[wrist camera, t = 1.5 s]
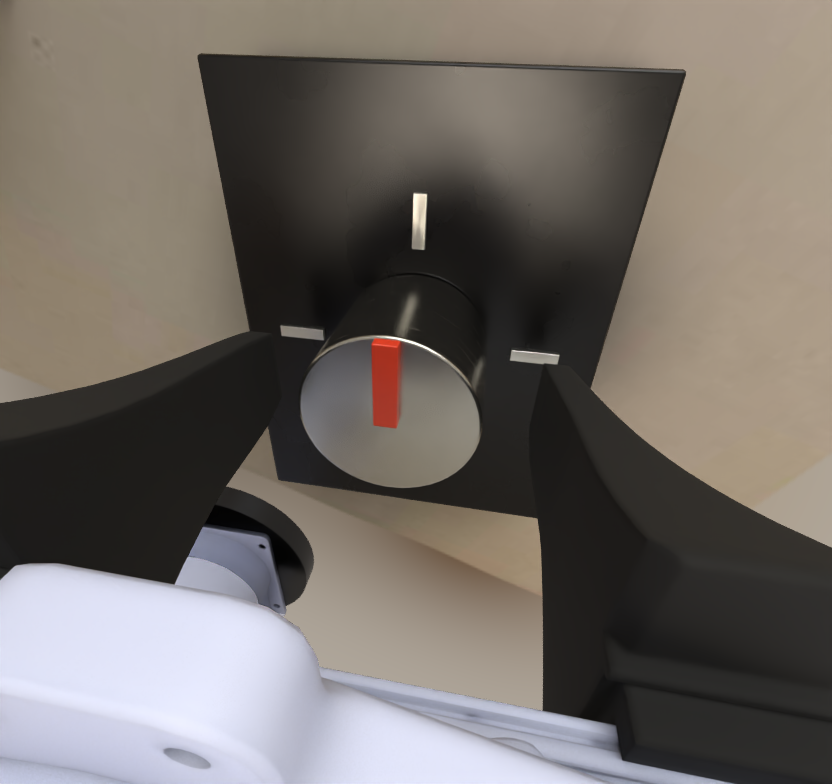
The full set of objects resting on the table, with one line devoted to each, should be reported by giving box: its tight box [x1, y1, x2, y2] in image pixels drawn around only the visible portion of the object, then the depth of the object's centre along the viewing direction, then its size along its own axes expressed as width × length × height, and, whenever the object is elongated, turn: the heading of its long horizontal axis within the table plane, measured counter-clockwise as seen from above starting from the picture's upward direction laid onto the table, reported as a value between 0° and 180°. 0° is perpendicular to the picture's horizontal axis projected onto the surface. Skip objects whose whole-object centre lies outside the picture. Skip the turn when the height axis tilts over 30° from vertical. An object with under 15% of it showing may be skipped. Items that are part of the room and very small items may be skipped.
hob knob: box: [298, 275, 487, 488], centre depth 12 cm, size 4×4×4 cm
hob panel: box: [198, 53, 686, 518], centre depth 15 cm, size 14×11×3 cm
